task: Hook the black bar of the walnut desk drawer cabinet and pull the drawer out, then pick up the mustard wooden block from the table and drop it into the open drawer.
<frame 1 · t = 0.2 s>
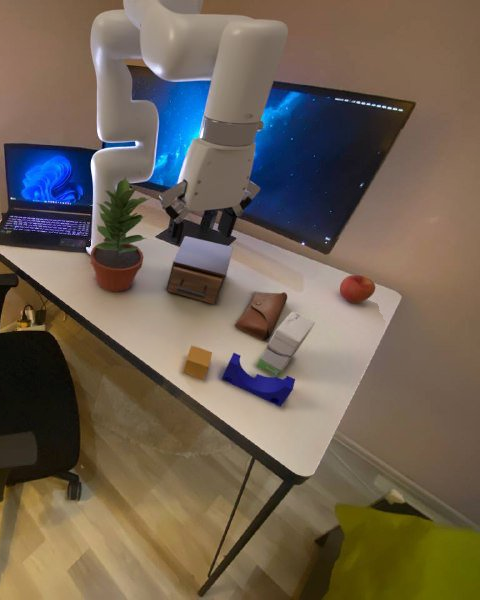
hand: (198, 236, 60), 31 cm above the table, tool pointing down, fingers open, 9 cm apart
ink box: (273, 362, 79), on the table
cabinet: (195, 281, 101), on the table
apple: (348, 299, 96), on the table
drawer: (196, 277, 94), point 5 cm above the table, slide at 0.5 cm
sunglasses case: (259, 316, 91), on the table
blue cradle holder: (252, 385, 74), on the table
block: (194, 368, 77), on the table
potted plant: (112, 280, 101), on the table
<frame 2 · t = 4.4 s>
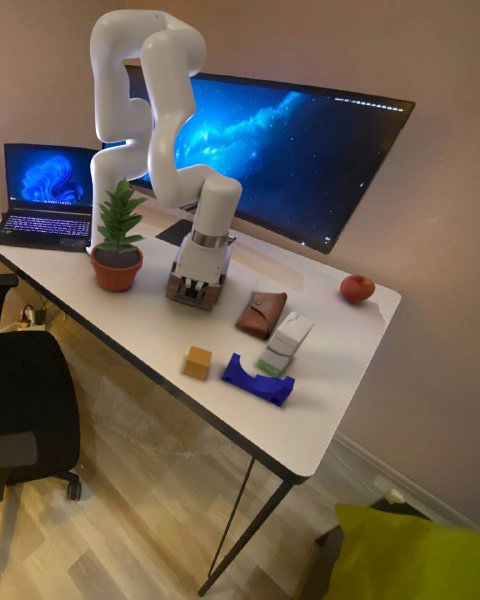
hand: (189, 298, 88), 4 cm above the table, tool pointing down, fingers closed
drawer: (194, 283, 92), point 5 cm above the table, slide at 3.4 cm
everything else where it was.
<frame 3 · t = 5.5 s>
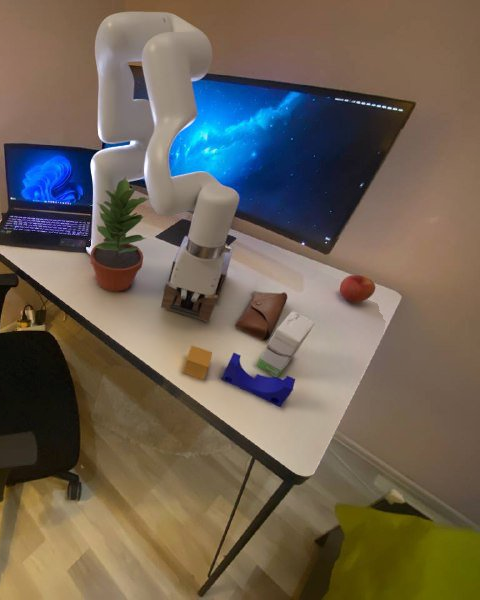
hand: (185, 309, 85), 4 cm above the table, tool pointing down, fingers closed
drawer: (191, 293, 89), point 5 cm above the table, slide at 8.0 cm
everything else where it was.
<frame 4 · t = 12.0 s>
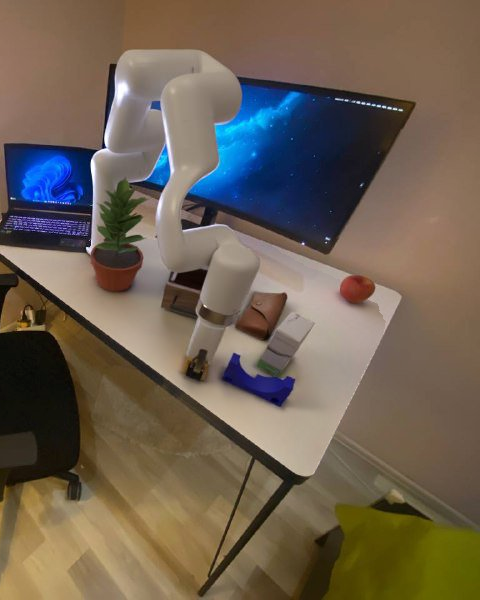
hand: (195, 367, 77), 0 cm above the table, tool pointing down, fingers closed on block, 4 cm apart
block: (194, 368, 77), on the table, touching gripper
everything else where it was.
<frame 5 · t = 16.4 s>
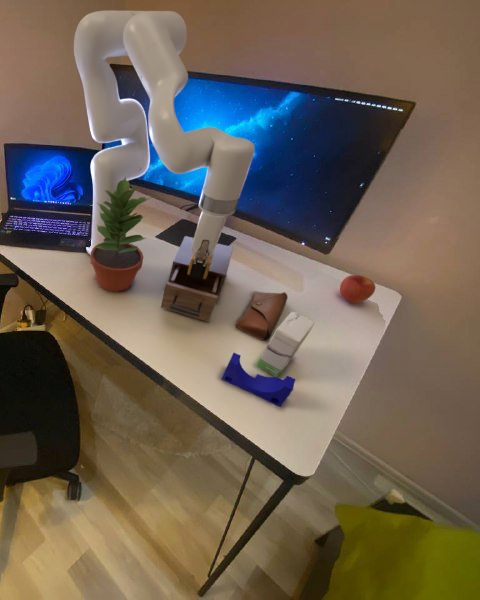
hand: (198, 270, 85), 12 cm above the table, tool pointing down, fingers closed on block, 4 cm apart
block: (198, 271, 85), point 11 cm above the table, touching gripper
everything else where it was.
when the fingers open (7 cm above the table, at t = 20.7 s): block drops 5 cm, resting on drawer.
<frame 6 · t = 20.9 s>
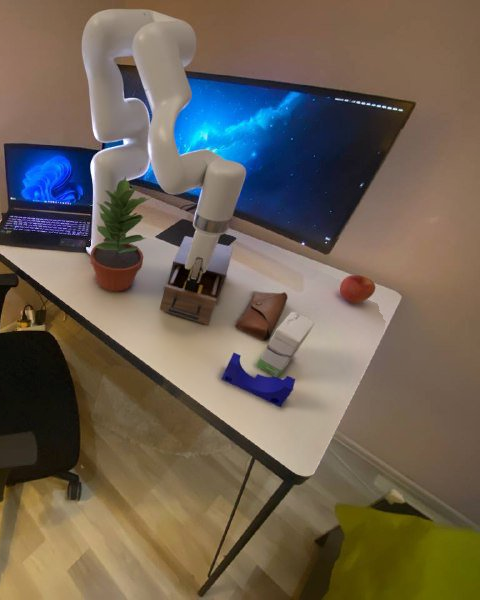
hand: (193, 284, 88), 7 cm above the table, tool pointing down, fingers open, 5 cm apart
drawer: (190, 295, 89), point 5 cm above the table, slide at 9.1 cm, touching block
block: (188, 301, 91), point 2 cm above the table, touching drawer
everything else where it was.
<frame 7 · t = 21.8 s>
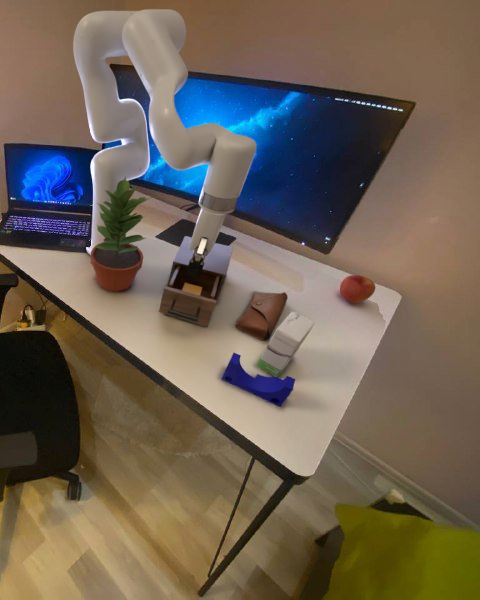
hand: (196, 264, 85), 13 cm above the table, tool pointing down, fingers open, 9 cm apart
drawer: (189, 297, 88), point 5 cm above the table, slide at 9.9 cm, touching block
everything else where it was.
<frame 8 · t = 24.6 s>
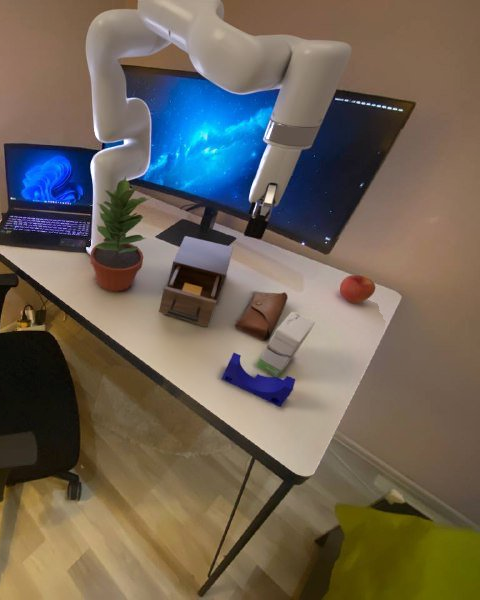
hand: (254, 225, 69), 28 cm above the table, tool pointing down, fingers open, 9 cm apart
nothing on the table moved.
at the end: drawer slide at 9.9 cm; block inside the target area in the drawer (1.4 cm from its centre), point 2.0 cm above the cabinet's base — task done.
